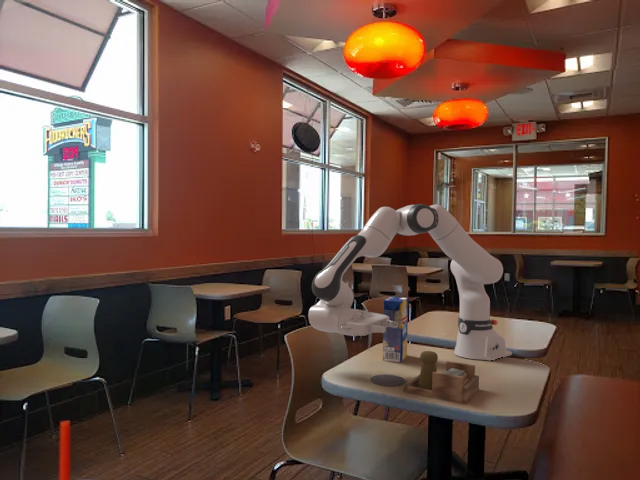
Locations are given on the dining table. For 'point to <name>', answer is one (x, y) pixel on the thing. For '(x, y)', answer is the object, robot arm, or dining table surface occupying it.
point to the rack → (449, 383)
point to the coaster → (387, 380)
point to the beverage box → (396, 329)
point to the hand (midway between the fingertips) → (391, 327)
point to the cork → (427, 369)
